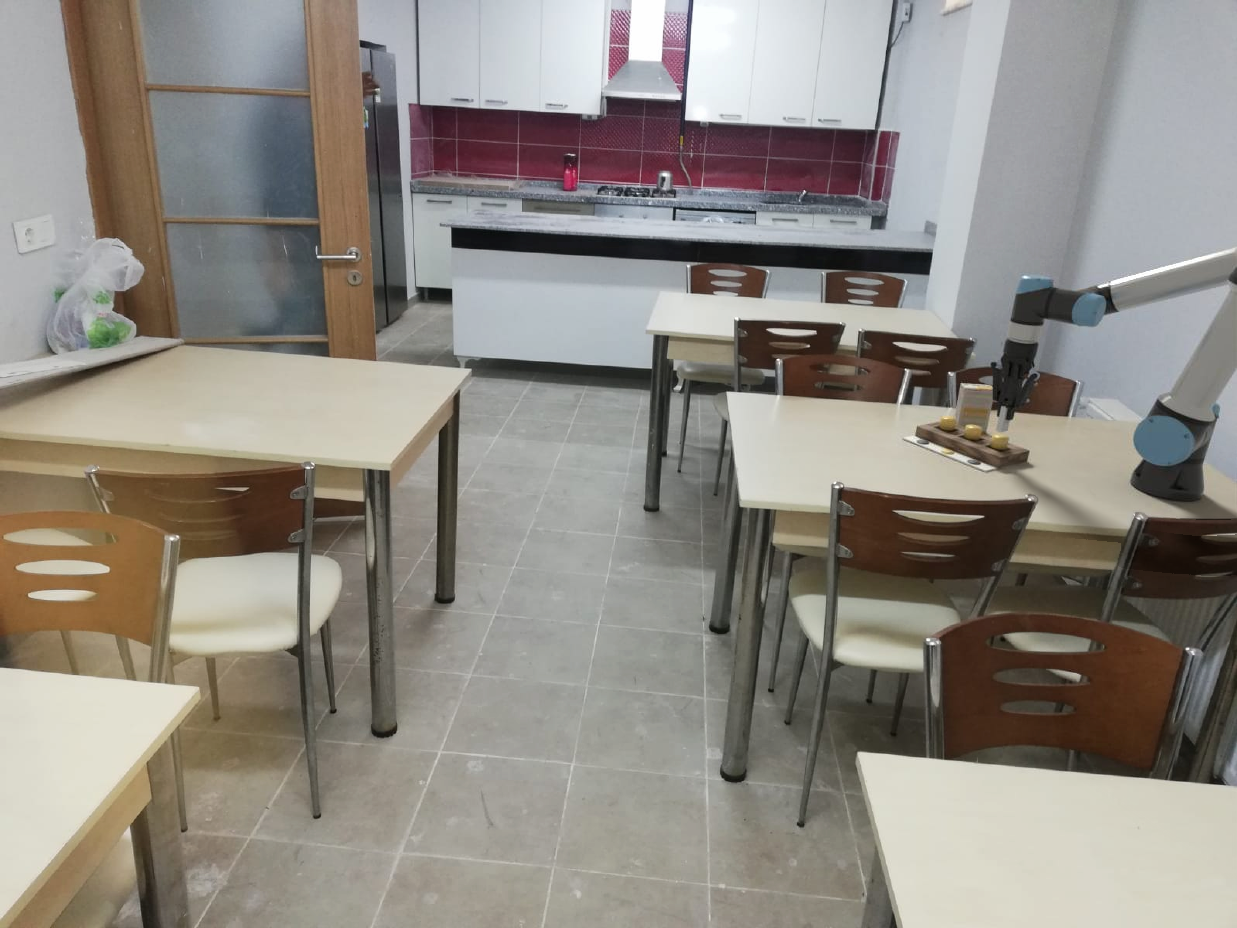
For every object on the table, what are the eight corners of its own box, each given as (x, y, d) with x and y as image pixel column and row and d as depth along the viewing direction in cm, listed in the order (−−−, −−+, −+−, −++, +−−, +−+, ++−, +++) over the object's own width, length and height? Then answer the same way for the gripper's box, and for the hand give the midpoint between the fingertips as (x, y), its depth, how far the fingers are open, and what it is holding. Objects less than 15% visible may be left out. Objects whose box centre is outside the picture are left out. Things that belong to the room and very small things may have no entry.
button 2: (1010, 448, 223) (1012, 437, 222) (1000, 450, 221) (1002, 440, 220) (996, 443, 226) (998, 433, 225) (986, 445, 224) (989, 435, 223)
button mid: (983, 438, 229) (985, 428, 228) (973, 440, 227) (975, 430, 226) (970, 433, 232) (972, 423, 231) (960, 435, 230) (962, 425, 229)
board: (1027, 461, 224) (1029, 450, 223) (998, 468, 218) (1000, 457, 217) (943, 430, 244) (945, 420, 243) (915, 436, 238) (917, 426, 237)
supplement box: (981, 429, 247) (990, 384, 242) (986, 434, 243) (996, 389, 238) (951, 426, 248) (960, 382, 243) (955, 432, 243) (965, 387, 239)
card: (996, 469, 217) (996, 467, 217) (985, 472, 215) (985, 470, 215) (913, 436, 237) (913, 435, 237) (902, 439, 235) (902, 437, 235)
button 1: (957, 429, 235) (959, 419, 234) (948, 431, 233) (950, 421, 232) (945, 424, 238) (947, 415, 237) (935, 426, 236) (937, 417, 235)
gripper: (1056, 344, 210) (1033, 436, 219) (1008, 332, 220) (988, 421, 229) (1037, 347, 206) (1015, 441, 215) (989, 335, 216) (970, 424, 225)
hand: (1001, 430), depth 222 cm, fingers closed
